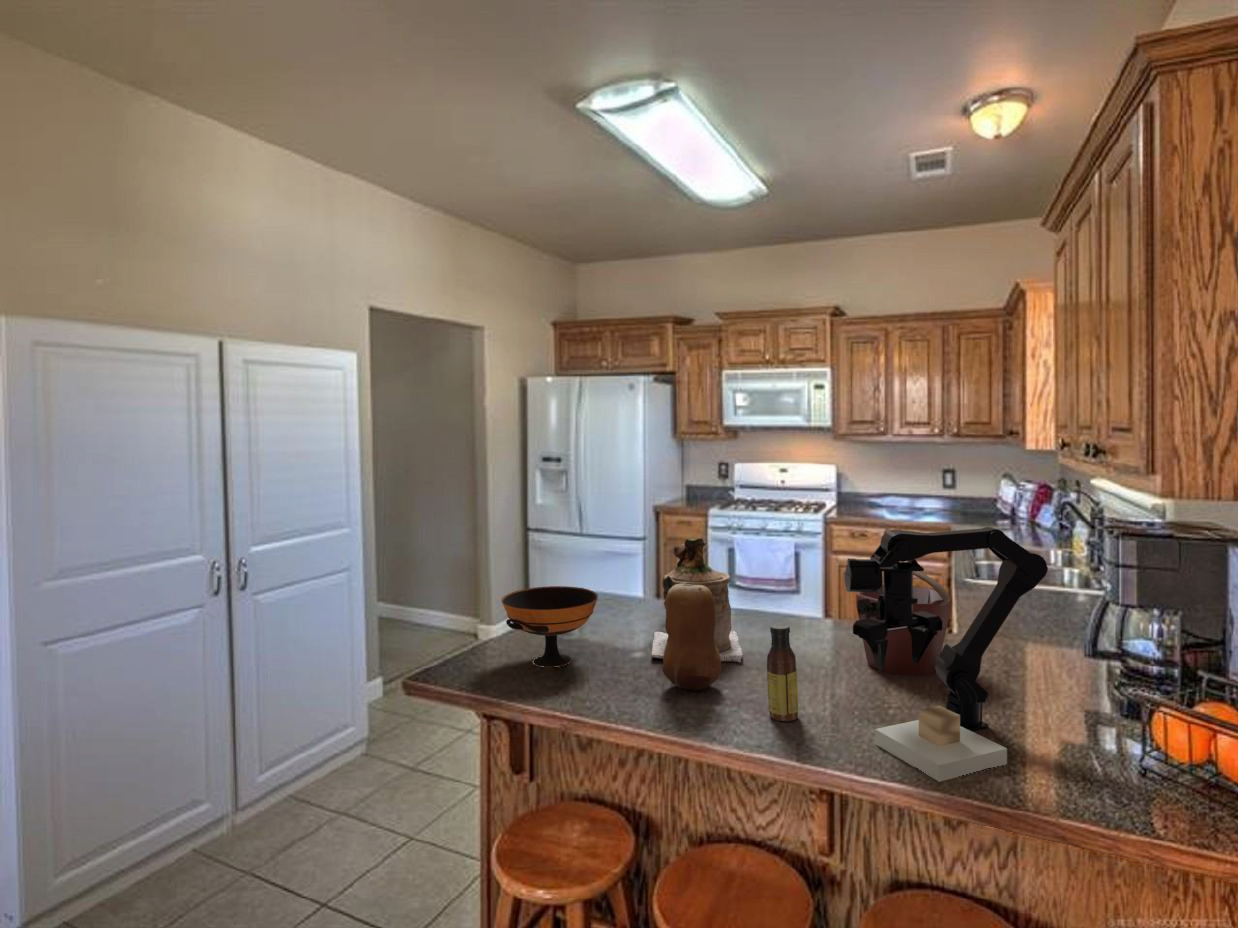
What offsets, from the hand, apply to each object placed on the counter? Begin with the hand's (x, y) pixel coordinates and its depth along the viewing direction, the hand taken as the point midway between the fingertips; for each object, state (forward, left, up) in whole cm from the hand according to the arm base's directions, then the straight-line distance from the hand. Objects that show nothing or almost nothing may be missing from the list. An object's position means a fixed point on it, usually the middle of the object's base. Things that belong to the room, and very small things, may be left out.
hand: (897, 666), depth 148 cm
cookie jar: (+15, -61, -12) cm, 64 cm away
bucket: (-27, -28, -12) cm, 41 cm away
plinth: (+3, +14, -12) cm, 19 cm away
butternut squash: (+30, -35, -12) cm, 48 cm away
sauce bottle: (+20, -12, -12) cm, 26 cm away
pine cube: (+3, +14, -9) cm, 17 cm away
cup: (+56, -67, -12) cm, 88 cm away
